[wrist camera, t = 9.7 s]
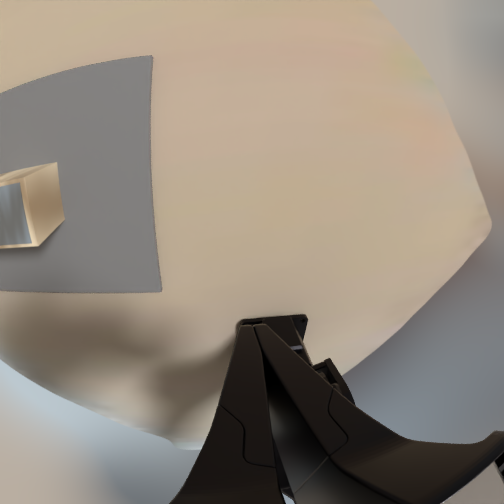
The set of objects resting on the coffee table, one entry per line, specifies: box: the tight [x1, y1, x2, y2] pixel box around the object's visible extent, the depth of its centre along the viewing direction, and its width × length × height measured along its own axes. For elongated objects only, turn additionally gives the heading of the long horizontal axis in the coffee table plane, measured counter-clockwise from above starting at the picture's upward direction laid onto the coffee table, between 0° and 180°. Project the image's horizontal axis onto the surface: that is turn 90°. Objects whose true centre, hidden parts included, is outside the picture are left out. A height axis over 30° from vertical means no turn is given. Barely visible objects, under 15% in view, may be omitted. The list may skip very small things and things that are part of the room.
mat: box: [0, 55, 162, 293], centre depth 16 cm, size 18×20×1 cm
